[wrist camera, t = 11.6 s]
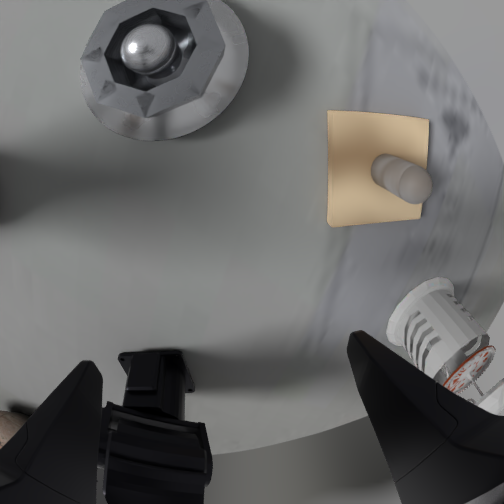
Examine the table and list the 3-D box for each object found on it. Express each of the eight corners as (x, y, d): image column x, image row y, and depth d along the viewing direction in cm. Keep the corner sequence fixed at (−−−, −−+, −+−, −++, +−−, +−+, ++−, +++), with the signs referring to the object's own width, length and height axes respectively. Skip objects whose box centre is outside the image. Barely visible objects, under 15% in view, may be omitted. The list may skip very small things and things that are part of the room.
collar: (187, 127, 15) (182, 131, 12) (89, 95, 13) (66, 94, 10) (239, 29, 12) (244, 14, 10) (136, -1, 10) (123, -19, 8)
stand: (413, 214, 21) (456, 245, 16) (327, 222, 20) (361, 261, 15) (420, 118, 17) (473, 129, 12) (327, 110, 16) (370, 114, 12)
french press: (458, 262, 24) (598, 431, 3) (447, 331, 30) (538, 473, 8) (384, 300, 25) (514, 526, 3) (386, 365, 31) (465, 531, 9)
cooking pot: (66, 411, 29) (50, 482, 19) (103, 457, 38) (97, 510, 27) (-37, 375, 25) (-58, 424, 15) (8, 428, 34) (-4, 470, 23)
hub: (251, 127, 17) (268, 135, 12) (99, 152, 16) (57, 172, 11) (240, -13, 12) (251, -55, 7) (88, 17, 11) (46, -7, 6)
